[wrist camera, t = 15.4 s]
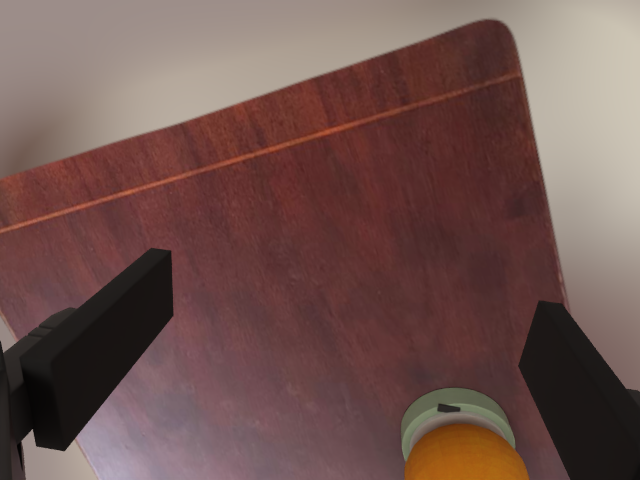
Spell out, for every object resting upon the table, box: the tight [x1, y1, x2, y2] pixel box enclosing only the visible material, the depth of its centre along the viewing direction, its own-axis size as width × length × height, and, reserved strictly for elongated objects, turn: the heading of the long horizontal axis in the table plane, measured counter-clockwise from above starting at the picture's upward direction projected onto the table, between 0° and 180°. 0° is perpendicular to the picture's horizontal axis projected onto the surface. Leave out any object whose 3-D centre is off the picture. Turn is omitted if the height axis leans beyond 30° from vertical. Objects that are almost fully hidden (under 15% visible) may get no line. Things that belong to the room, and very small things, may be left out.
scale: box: [401, 388, 515, 461], centre depth 49 cm, size 12×12×3 cm
